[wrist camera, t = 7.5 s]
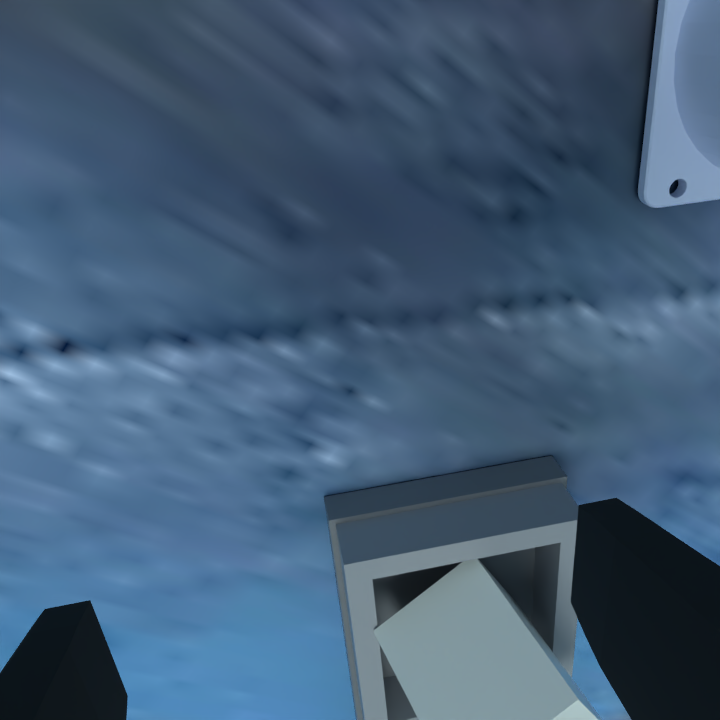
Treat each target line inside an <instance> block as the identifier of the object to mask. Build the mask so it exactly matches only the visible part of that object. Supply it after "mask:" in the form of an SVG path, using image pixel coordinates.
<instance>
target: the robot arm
mask: <svg viewBox="0 0 720 720" xmlns="http://www.w3.org/2000/svg"><path fill="white" fill-rule="evenodd" d="M677 179H678V187H677V189H676V190H675V191H674V192H673V193H672V194H670V193H669V189H670V186H671V184H672V183H673V182H674V181H675V180H677ZM638 197H639V199H640V200H641V202H642V203H644V204H646V205H648V206H650V207H653V208H661V207H668V206H675V205H682V204H690V203H697V202H704V201H711V200H718V199H720V0H659V1H658V10H657V20H656V29H655V38H654V47H653V56H652V65H651V75H650V84H649V93H648V102H647V111H646V120H645V130H644V139H643V148H642V157H641V166H640V176H639V185H638ZM570 602H571V604H572V606H573V609H574V611H575V613H576V615H577V618H578V620H579V622H580V624H581V627H582V629H583V631H584V633H585V636H586V638H587V640H588V642H589V644H590V646H591V648H592V651H593V653H594V655H595V657H596V659H597V661H598V663H599V665H600V667H601V669H602V671H603V672H604V674H605V676H606V677H607V679H608V681H609V683H610V684H611V686H612V688H613V689H614V691H615V693H616V694H617V696H618V698H619V699H620V701H621V703H622V704H623V706H624V708H625V709H626V711H627V713H628V714H629V716H630V718H631V719H632V720H720V566H719V565H717V564H716V563H714V562H712V561H711V560H709V559H708V558H706V557H705V556H703V555H702V554H700V553H699V552H697V551H696V550H694V549H693V548H691V547H690V546H688V545H687V544H685V543H684V542H682V541H681V540H679V539H678V538H676V537H675V536H673V535H672V534H670V533H669V532H667V531H666V530H664V529H663V528H661V527H660V526H658V525H657V524H656V523H654V522H653V521H651V520H650V519H648V518H647V517H645V516H644V515H642V514H641V513H639V512H638V511H636V510H635V509H633V508H631V507H630V506H628V505H627V504H625V503H624V502H622V501H621V500H619V499H617V498H613V499H608V500H603V501H598V502H593V503H588V504H582V505H579V507H578V519H577V531H576V542H575V554H574V566H573V578H572V590H571V601H570ZM126 715H127V693H126V691H125V688H124V685H123V683H122V680H121V678H120V675H119V673H118V670H117V668H116V665H115V662H114V660H113V657H112V655H111V652H110V650H109V647H108V645H107V642H106V640H105V637H104V634H103V632H102V629H101V627H100V624H99V622H98V619H97V617H96V614H95V611H94V609H93V606H92V604H91V601H90V600H89V601H84V602H79V603H74V604H69V605H64V606H59V607H53V608H48V609H45V610H44V611H43V612H42V614H41V615H40V616H39V618H38V619H37V620H36V622H35V623H34V625H33V626H32V627H31V629H30V630H29V632H28V633H27V635H26V636H25V638H24V639H23V640H22V642H21V643H20V645H19V646H18V648H17V649H16V651H15V652H14V654H13V655H12V657H11V658H10V659H9V661H8V662H7V664H6V665H5V667H4V668H3V670H2V671H1V673H0V720H126Z"/></svg>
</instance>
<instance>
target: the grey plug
mask: <svg viewBox="0 0 720 720" xmlns="http://www.w3.org/2000/svg"><path fill="white" fill-rule="evenodd" d="M373 632H374V634H375V636H376V638H377V640H378V642H379V644H380V646H381V647H382V649H383V651H384V653H385V655H386V657H387V659H388V661H389V663H390V665H391V667H392V669H393V671H394V673H395V675H396V677H397V679H398V681H399V683H400V684H401V686H402V688H403V690H404V692H405V694H406V696H407V698H408V700H409V702H410V704H411V706H412V708H413V710H414V712H415V714H416V716H417V718H418V719H419V720H602V719H601V718H600V716H599V715H598V713H597V712H596V711H595V709H594V708H593V707H592V705H591V704H590V702H589V701H588V700H587V698H586V697H585V696H584V694H583V693H582V692H581V690H580V689H579V687H578V686H577V685H576V683H575V682H574V681H573V679H572V678H571V676H570V675H569V674H568V672H567V671H566V670H565V668H564V667H563V665H562V664H561V663H560V661H559V660H558V659H557V657H556V656H555V655H554V653H553V652H552V650H551V649H550V648H549V646H548V645H547V644H546V642H545V641H544V639H543V638H542V637H541V635H540V634H539V633H538V631H537V630H536V628H535V627H534V626H533V624H532V623H531V622H530V620H529V619H528V618H527V616H526V615H525V613H524V612H523V611H522V609H521V608H520V607H519V605H518V604H517V603H516V602H515V600H514V599H513V598H512V597H511V596H510V595H509V594H508V592H507V591H506V590H505V589H504V588H503V587H502V586H501V584H500V583H499V582H498V581H497V580H496V579H495V578H494V576H493V575H492V574H491V573H490V572H489V571H488V570H487V568H486V567H485V566H484V565H483V564H482V563H481V562H480V560H479V559H474V560H469V561H464V562H462V563H460V564H459V565H458V566H457V567H455V568H454V569H453V570H451V571H450V572H449V573H448V574H446V575H445V576H444V577H442V578H441V579H440V580H438V581H437V582H436V583H435V584H433V585H432V586H431V587H429V588H428V589H427V590H426V591H424V592H423V593H422V594H420V595H419V596H418V597H416V598H415V599H414V600H413V601H411V602H410V603H409V604H407V605H406V606H405V607H403V608H402V609H401V610H400V611H398V612H397V613H396V614H394V615H393V616H392V617H391V618H389V619H388V620H387V621H385V622H384V623H383V624H381V625H380V626H379V627H378V628H376V629H375V630H374V631H373Z"/></svg>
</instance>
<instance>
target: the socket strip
mask: <svg viewBox="0 0 720 720" xmlns="http://www.w3.org/2000/svg"><path fill="white" fill-rule="evenodd" d="M566 486H567V476H566V474H565V473H564V471H563V470H562V469H561V467H560V466H559V465H558V463H557V462H556V461H555V459H554V458H553V457H552V456H547V457H542V458H536V459H530V460H525V461H519V462H514V463H508V464H503V465H497V466H492V467H486V468H481V469H475V470H470V471H464V472H459V473H453V474H448V475H442V476H437V477H431V478H425V479H420V480H414V481H409V482H403V483H398V484H392V485H387V486H381V487H376V488H370V489H365V490H359V491H354V492H348V493H343V494H337V495H332V496H326V497H324V500H325V507H326V514H327V521H328V528H329V535H330V542H331V548H332V555H333V562H334V569H335V576H336V583H337V590H338V597H339V604H340V610H341V617H342V624H343V631H344V638H345V645H346V652H347V659H348V666H349V673H350V679H351V686H352V693H353V700H354V707H355V714H356V720H419V719H418V718H417V716H416V714H415V712H414V710H413V708H412V706H411V704H410V702H409V700H408V698H407V696H406V694H405V692H404V690H403V688H402V686H401V684H400V683H399V681H398V679H397V677H396V675H395V673H394V671H393V669H392V667H391V665H390V663H389V661H388V659H387V657H386V655H385V653H384V651H383V649H382V647H381V646H380V644H379V642H378V640H377V638H376V636H375V634H374V632H373V631H374V630H375V629H376V628H378V627H379V626H380V625H381V624H383V623H384V622H385V621H387V620H388V619H389V618H391V617H392V616H393V615H394V614H396V613H397V612H398V611H400V610H401V609H402V608H403V607H405V606H406V605H407V604H409V603H410V602H411V601H413V600H414V599H415V598H416V597H418V596H419V595H420V594H422V593H423V592H424V591H426V590H427V589H428V588H429V587H431V586H432V585H433V584H435V583H436V582H437V581H438V580H440V579H441V578H442V577H444V576H445V575H446V574H448V573H449V572H450V571H451V570H453V569H454V568H455V567H457V566H458V565H459V564H460V563H462V562H464V561H469V560H474V559H479V560H480V562H481V563H482V564H483V565H484V566H485V567H486V568H487V570H488V571H489V572H490V573H491V574H492V575H493V576H494V578H495V579H496V580H497V581H498V582H499V583H500V584H501V586H502V587H503V588H504V589H505V590H506V591H507V592H508V594H509V595H510V596H511V597H512V598H513V599H514V600H515V602H516V603H517V604H518V605H519V607H520V608H521V609H522V611H523V612H524V613H525V615H526V616H527V618H528V619H529V620H530V622H531V623H532V624H533V626H534V627H535V628H536V630H537V631H538V633H539V634H540V635H541V637H542V638H543V639H544V641H545V642H546V644H547V645H548V646H549V648H550V649H551V650H552V652H553V653H554V655H555V656H556V657H557V659H558V660H559V661H560V663H561V664H562V665H563V667H564V668H565V670H566V671H567V672H568V674H569V675H570V676H571V678H572V669H573V658H574V648H575V637H576V626H577V615H576V613H575V611H574V609H573V606H572V604H571V602H570V601H571V590H572V578H573V566H574V554H575V542H576V531H577V519H578V505H577V504H576V502H575V501H574V500H573V498H572V497H571V495H570V494H569V493H568V491H567V490H566Z"/></svg>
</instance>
